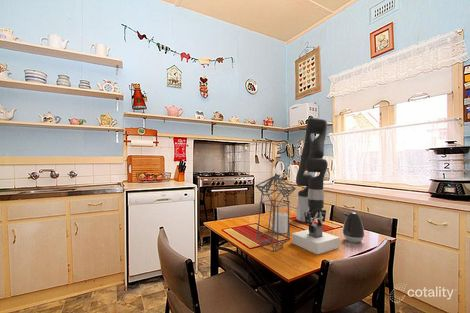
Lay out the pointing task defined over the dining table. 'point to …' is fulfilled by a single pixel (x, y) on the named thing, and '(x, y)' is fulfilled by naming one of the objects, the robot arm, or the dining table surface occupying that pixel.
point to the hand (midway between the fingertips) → (315, 231)
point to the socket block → (315, 242)
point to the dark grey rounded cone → (353, 228)
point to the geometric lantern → (274, 209)
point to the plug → (316, 231)
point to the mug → (280, 222)
